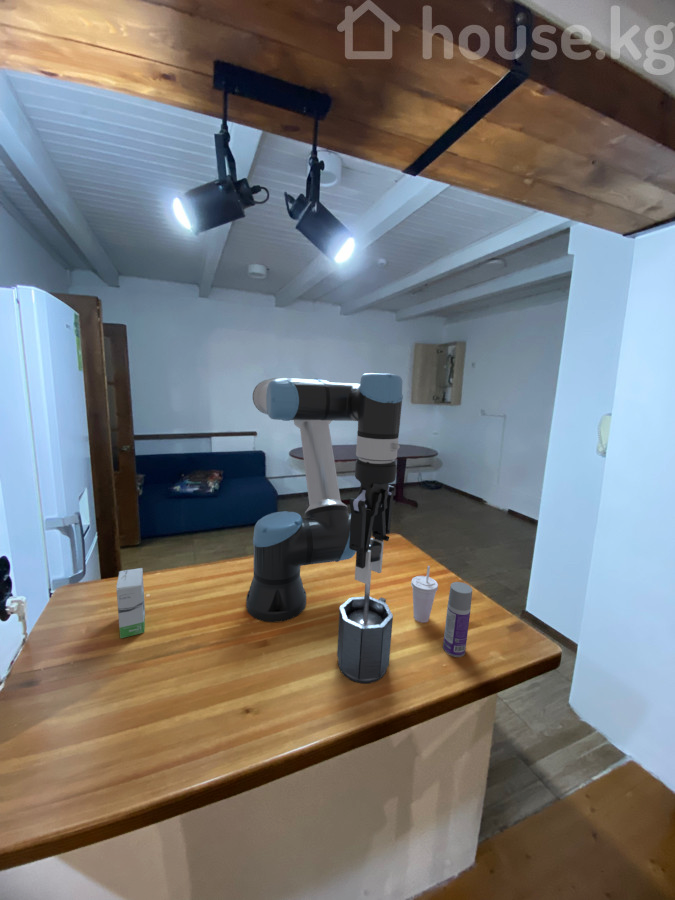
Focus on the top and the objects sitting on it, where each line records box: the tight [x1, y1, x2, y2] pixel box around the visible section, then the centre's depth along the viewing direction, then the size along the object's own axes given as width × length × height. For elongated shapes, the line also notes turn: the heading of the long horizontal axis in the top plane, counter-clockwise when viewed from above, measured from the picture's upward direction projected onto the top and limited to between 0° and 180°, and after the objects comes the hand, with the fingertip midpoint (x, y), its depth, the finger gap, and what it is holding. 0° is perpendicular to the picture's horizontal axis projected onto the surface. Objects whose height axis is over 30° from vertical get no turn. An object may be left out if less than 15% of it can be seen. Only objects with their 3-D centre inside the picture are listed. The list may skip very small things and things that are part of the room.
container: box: [442, 581, 473, 658], centre depth 79 cm, size 5×5×15 cm
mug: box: [336, 596, 394, 685], centre depth 75 cm, size 10×13×12 cm
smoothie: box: [410, 565, 439, 624], centre depth 89 cm, size 6×6×14 cm
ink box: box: [115, 567, 146, 639], centre depth 82 cm, size 9×5×12 cm, turn 27°
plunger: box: [348, 540, 383, 626], centre depth 72 cm, size 7×7×17 cm
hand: (368, 575), depth 71 cm, fingers closed on plunger, 4 cm apart
